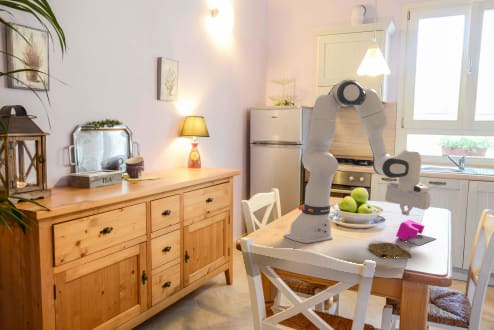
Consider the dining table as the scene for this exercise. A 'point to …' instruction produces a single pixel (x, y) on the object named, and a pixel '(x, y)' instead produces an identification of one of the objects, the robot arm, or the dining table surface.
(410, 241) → the mat
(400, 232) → the toy block
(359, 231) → the dining table surface
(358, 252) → the dining table surface
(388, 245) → the pastry
